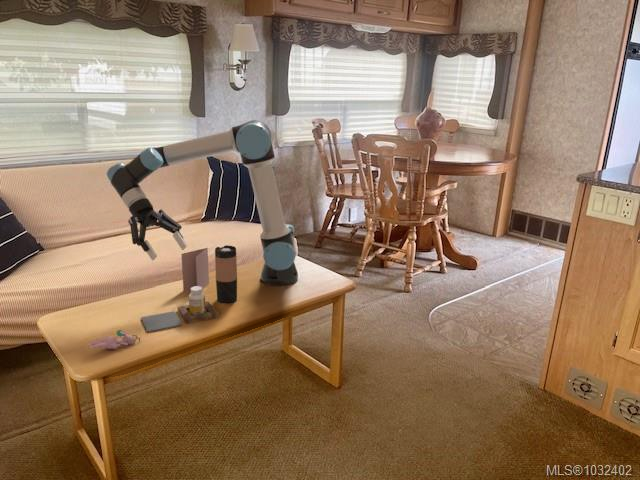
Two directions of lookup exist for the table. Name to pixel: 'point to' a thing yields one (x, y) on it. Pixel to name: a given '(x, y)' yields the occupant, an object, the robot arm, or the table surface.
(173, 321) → the slate pad
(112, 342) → the pink patterned figure
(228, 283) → the travel mug
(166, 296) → the table surface
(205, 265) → the greeting card
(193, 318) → the brown flat square frame
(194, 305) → the supplement bottle
